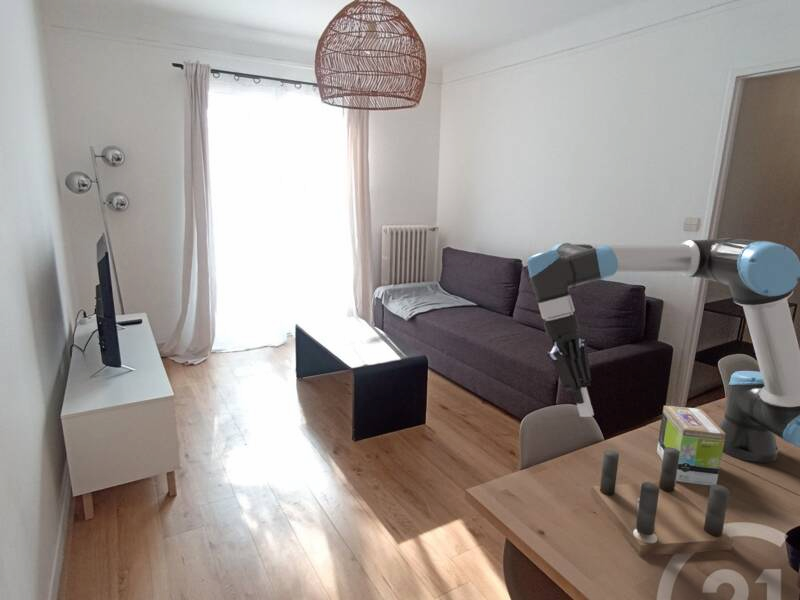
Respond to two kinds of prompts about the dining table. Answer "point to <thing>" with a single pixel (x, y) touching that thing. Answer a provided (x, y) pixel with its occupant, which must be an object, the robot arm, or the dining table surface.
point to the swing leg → (647, 508)
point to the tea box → (692, 443)
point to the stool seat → (664, 511)
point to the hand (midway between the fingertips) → (587, 415)
